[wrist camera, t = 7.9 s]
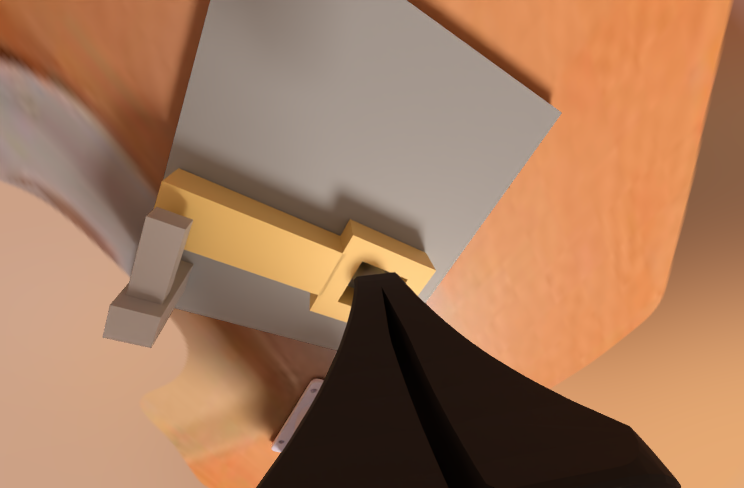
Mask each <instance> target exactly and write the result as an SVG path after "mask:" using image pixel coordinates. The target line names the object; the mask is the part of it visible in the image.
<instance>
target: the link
mask: <svg viewBox="0 0 744 488" xmlns="http://www.w3.org/2000/svg"><path fill="white" fill-rule="evenodd" d="M156 207H159V208H162V209H164V210H167V211H170V212H173V213H176V214H178V215H181V216H184V217H187V218H190V219H193V222H192V225H191V228H190V232H189V235H188V238H187V241H186V244H185V247H184V250H187V251H190V252H193V253H196V254H199V255H202V256H205V257H208V258H210V259H213V260H216V261H219V262H222V263H225V264H228V265H231V266H234V267H237V268H240V269H243V270H246V271H249V272H252V273H255V274H257V275H260V276H263V277H266V278H269V279H272V280H275V281H278V282H281V283H284V284H287V285H290V286H293V287H296V288H299V289H302V290H304V291H307V292H310V311H312V312H315V313H319V314H322V315H325V316H328V317H331V318H334V319H337V320H340V321H344V322H347V321H348V318H349V314H350V310H351V306H352V300H353V294H354V288H352V287H349V286H348V284H349V282H350V281H351V279H352V277H353V276H354V274H355V273H356V271H357V269H358V268H359V266H360V264H361V263H362V261H363V262H365V263H368V264H370V265H373V266H375V267H378V268H380V269H383V270H385V271H388V272H390V273H391V272H396V273H397V274H398V275H399V276H400V277H401V278H402V280H403V281H404V282H405V283H406V284H407V285H408V286H409V287H410V288H411V289H412V290H413V291H414V292H415V293H416V295H417V296H418V295H419V294H420V292H421V291H422V289H423V288H424V287H425V285H426V284H427V283H428V281H429V280H430V278H431V277H432V276H433V274H434V273H435V272H436V269H435V268H434V266H433V264H432V262H431V261H430V259H429V257H428V255H427V254H426V253H425V252H423V251H421V250H418V249H416V248H414V247H412V246H409V245H407V244H405V243H403V242H400V241H398V240H396V239H394V238H391V237H389V236H387V235H385V234H382V233H380V232H378V231H376V230H373V229H371V228H369V227H367V226H364V225H362V224H360V223H358V222H355V221H353V220H351V219H350V220H349V221H348V223H347V225H346V227H345V228H344V230H343V232H342V234H341V236H339V235H337V234H334V233H332V232H330V231H327V230H325V229H323V228H320V227H318V226H315V225H313V224H311V223H308V222H306V221H304V220H301V219H299V218H296V217H294V216H292V215H289V214H287V213H285V212H282V211H280V210H277V209H275V208H273V207H270V206H268V205H265V204H263V203H261V202H258V201H256V200H254V199H251V198H249V197H246V196H244V195H242V194H239V193H237V192H235V191H232V190H230V189H227V188H225V187H223V186H220V185H218V184H216V183H213V182H211V181H208V180H206V179H204V178H201V177H199V176H196V175H194V174H192V173H189V172H187V171H185V170H182V169H180V168H178V169H177V170H175V171H174V172H173V173H172V174H170V175H169V176H168V177H166V178H165V179H164V180H162V182H161V185H160V189H159V192H158V196H157V199H156V203H155V206H154V208H156Z"/></svg>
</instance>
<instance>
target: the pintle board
mask: <svg viewBox="0 0 744 488" xmlns="http://www.w3.org/2000/svg"><path fill="white" fill-rule="evenodd" d="M560 115H561V112H560V111H559V110H557V109H556V108H554V107H553V106H552V105H550V104H549V103H548V102H546V101H545V100H543V99H542V98H541V97H539V96H538V95H537V94H535V93H534V92H532V91H531V90H530V89H528V88H527V87H526V86H524V85H523V84H521V83H520V82H519V81H517V80H516V79H514V78H513V77H512V76H510V75H509V74H508V73H506V72H505V71H503V70H502V69H501V68H499V67H498V66H497V65H495V64H494V63H492V62H491V61H490V60H488V59H487V58H486V57H484V56H483V55H481V54H480V53H479V52H477V51H476V50H474V49H473V48H472V47H470V46H469V45H468V44H466V43H465V42H463V41H462V40H461V39H459V38H458V37H457V36H455V35H454V34H452V33H451V32H450V31H448V30H447V29H445V28H444V27H443V26H441V25H440V24H439V23H437V22H436V21H434V20H433V19H432V18H430V17H429V16H428V15H426V14H425V13H423V12H422V11H421V10H419V9H418V8H417V7H415V6H414V5H412V4H411V3H410V2H408V1H407V0H210V4H209V7H208V11H207V15H206V19H205V23H204V26H203V30H202V34H201V38H200V41H199V45H198V49H197V53H196V57H195V60H194V64H193V68H192V72H191V76H190V79H189V83H188V87H187V91H186V95H185V98H184V102H183V106H182V110H181V114H180V117H179V121H178V125H177V129H176V133H175V136H174V140H173V144H172V148H171V152H170V155H169V159H168V163H167V167H166V171H165V174H164V178H163V180H164V179H165V178H166V177H168V176H169V175H170V174H172V173H173V172H174V171H175V170H177V169H178V168H180V169H182V170H185V171H187V172H189V173H192V174H194V175H196V176H199V177H201V178H204V179H206V180H208V181H211V182H213V183H216V184H218V185H220V186H223V187H225V188H227V189H230V190H232V191H235V192H237V193H239V194H242V195H244V196H246V197H249V198H251V199H254V200H256V201H258V202H261V203H263V204H265V205H268V206H270V207H273V208H275V209H277V210H280V211H282V212H285V213H287V214H289V215H292V216H294V217H296V218H299V219H301V220H304V221H306V222H308V223H311V224H313V225H315V226H318V227H320V228H323V229H325V230H327V231H330V232H332V233H334V234H337V235H339V236H341V234H342V232H343V230H344V228H345V227H346V225H347V223H348V221H349V220H350V219H351V220H353V221H355V222H358V223H360V224H362V225H364V226H367V227H369V228H371V229H373V230H376V231H378V232H380V233H382V234H385V235H387V236H389V237H391V238H394V239H396V240H398V241H400V242H403V243H405V244H407V245H409V246H412V247H414V248H416V249H418V250H421V251H423V252H425V253H426V254H427V255H428V257H429V259H430V261H431V262H432V264H433V266H434V268H435V269H436V272H435V273H434V274H433V276H432V277H431V278H430V280H429V281H428V283H427V284H426V285H425V287H424V288H423V289H422V291H421V292H420V294H419V295H418V297H419V298H420V299H421V300H422V301H423V302H424V303H426V302H427V300H428V299H429V298H430V296H431V295H432V293H433V292H434V291H435V289H436V288H437V286H438V285H439V284H440V282H441V281H442V279H443V278H444V277H445V275H446V274H447V272H448V271H449V270H450V268H451V267H452V265H453V264H454V263H455V261H456V260H457V259H458V257H459V256H460V254H461V253H462V252H463V250H464V249H465V247H466V246H467V245H468V243H469V242H470V240H471V239H472V238H473V236H474V235H475V233H476V232H477V231H478V229H479V228H480V226H481V225H482V224H483V222H484V221H485V219H486V218H487V217H488V215H489V214H490V213H491V211H492V210H493V208H494V207H495V206H496V204H497V203H498V201H499V200H500V199H501V197H502V196H503V194H504V193H505V192H506V190H507V189H508V187H509V186H510V185H511V183H512V182H513V180H514V179H515V178H516V176H517V175H518V173H519V172H520V171H521V169H522V168H523V166H524V165H525V164H526V162H527V161H528V160H529V158H530V157H531V155H532V154H533V153H534V151H535V150H536V148H537V147H538V146H539V144H540V143H541V141H542V140H543V139H544V137H545V136H546V134H547V133H548V132H549V130H550V129H551V127H552V126H553V125H554V123H555V122H556V120H557V119H558V118H559V116H560ZM192 222H193V219H190V218H187V217H184V216H181V215H178V214H176V213H173V212H170V211H167V210H164V209H162V208H159V207H156V208H154V209H153V210H152V211H151V212H150V213H149V214H148V215H147V216H146V218H145V222H144V226H143V230H142V234H141V238H140V242H139V246H138V250H137V254H136V258H135V261H134V265H133V269H132V273H131V277H130V281H129V283H128V284H127V286H126V287H125V288H124V289H123V290H122V292H121V293H120V294H119V295H118V296H117V297H116V299H115V300H114V301H113V302H112V303H111V304H110V307H109V311H108V316H107V320H106V324H105V329H104V333H103V338H107V339H112V340H117V341H121V342H126V343H130V344H135V345H140V346H145V347H149V348H151V347H152V346H153V344H154V342H155V340H156V339H157V337H158V335H159V334H160V332H161V330H162V328H163V327H164V325H165V323H166V322H167V320H168V318H169V316H170V315H171V313H172V311H173V310H174V308H176V309H180V310H184V311H188V312H192V313H195V314H199V315H203V316H207V317H211V318H214V319H218V320H222V321H226V322H230V323H233V324H237V325H241V326H245V327H249V328H253V329H256V330H260V331H264V332H268V333H272V334H275V335H279V336H283V337H287V338H291V339H295V340H298V341H302V342H306V343H310V344H314V345H317V346H321V347H325V348H329V349H333V350H336V351H337V350H338V348H339V345H340V342H341V339H342V336H343V334H344V331H345V328H346V325H347V322H344V321H340V320H337V319H334V318H331V317H328V316H325V315H322V314H319V313H315V312H312V311H310V292H307V291H304V290H302V289H299V288H296V287H293V286H290V285H287V284H284V283H281V282H278V281H275V280H272V279H269V278H266V277H263V276H260V275H257V274H255V273H252V272H249V271H246V270H243V269H240V268H237V267H234V266H231V265H228V264H225V263H222V262H219V261H216V260H213V259H210V258H208V257H205V256H202V255H199V254H196V253H193V252H190V251H187V250H184V247H185V244H186V241H187V238H188V235H189V232H190V228H191V225H192ZM382 273H390V272H388V271H385V270H383V269H380V268H378V267H375V266H373V265H370V264H368V263H365V262H363V261H362V263H361V264H360V266H359V268H358V269H357V271H356V273H355V274H354V276H353V277H352V279H351V281H350V282H349V284H348V286H349V287H352V288H354V279H355V278H356V277H357V276H365V275H374V274H382Z"/></svg>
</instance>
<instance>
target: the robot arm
mask: <svg viewBox="0 0 744 488" xmlns="http://www.w3.org/2000/svg"><path fill="white" fill-rule="evenodd" d="M272 450H273V451H276V452H281V453H280V455H279V456H278V458H277V459H276V460H275V462H274V463H273V465H272V466H271V467H270V469H269V470H268V472H267V473H266V474H265V476H264V477H263V479H262V480H261V481H260V483H259V484H258V486H257V487H256V488H681V485H680V484H679V482H678V481H677V479H676V478H675V477H674V476H673V475H672V473H671V472H670V471H669V470H668V469H667V467H666V466H665V465H664V464H663V463H662V462H661V460H660V459H659V458H658V457H657V456H656V455H655V453H654V452H653V451H652V450H651V449H650V448H649V447H648V445H646V443H645V442H644V441H643V440H642V439H641V438H640V437H639V436H638V435H637V434H636V432H635V431H633V429H632V428H631V427H630V426H628V425H625V424H623V423H621V422H619V421H616V420H614V419H612V418H610V417H607V416H605V415H603V414H601V413H598V412H596V411H594V410H592V409H589V408H587V407H585V406H583V405H580V404H578V403H576V402H574V401H571V400H570V399H567V398H565V397H563V396H562V395H560V394H558V393H555V392H554V391H552V390H550V389H548V388H546V387H544V386H542V385H540V384H538V383H536V382H534V381H533V380H531V379H529V378H527V377H525V376H524V375H522V374H520V373H518V372H517V371H515V370H513V369H512V368H510V367H508V366H507V365H505V364H503V363H502V362H500V361H498V360H497V359H495V358H494V357H492V356H491V355H489V354H487V353H486V352H484V351H483V350H482V349H480V348H479V347H477V346H476V345H475V344H473V343H472V342H470V341H469V340H468V339H466V338H465V337H464V336H462V335H461V334H460V333H459V332H457V331H456V330H455V329H454V328H452V327H451V326H450V325H449V324H448V323H446V322H445V321H444V320H443V319H442V318H441V317H440V316H438V315H437V314H436V313H435V312H434V311H433V310H432V309H431V308H430V307H429V306H428V305H427V304H426V303H424V302H423V301H422V300H421V299H420V298H419V297H418V296H417V295H416V293H415V292H414V291H413V290H412V289H411V288H410V287H409V286H408V285H407V284H406V283H405V282H404V281H403V280H402V278H401V277H400V276H399V275H398V274H397V273H396V272H391V273H382V274H374V275H365V276H357V277H356V278H355V279H354V294H353V300H352V306H351V310H350V314H349V318H348V321H347V325H346V328H345V331H344V334H343V336H342V339H341V342H340V345H339V348H338V350H337V353H336V355H335V358H334V360H333V362H332V364H331V367H330V369H329V371H328V373H327V375H326V377H325V379H324V380H322V379H313V380H312V381H311V382H310V383H309V385H308V386H307V388H306V390H305V391H304V393H303V395H302V396H301V398H300V399H299V401H298V403H297V404H296V406H295V408H294V409H293V411H292V412H291V414H290V416H289V417H288V419H287V421H286V422H285V424H284V425H283V427H282V429H281V430H280V432H279V434H278V435H277V437H276V439H275V440H274V442H273V443H272Z"/></svg>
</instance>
